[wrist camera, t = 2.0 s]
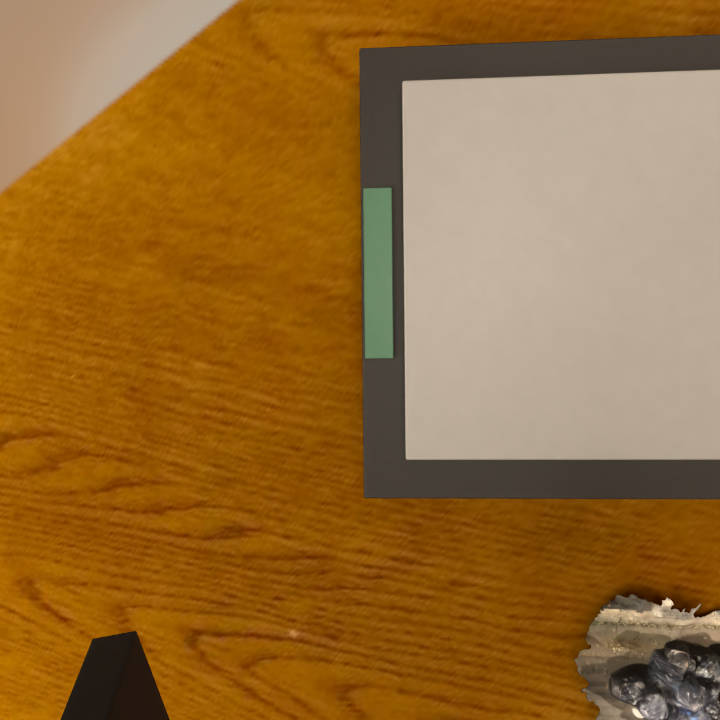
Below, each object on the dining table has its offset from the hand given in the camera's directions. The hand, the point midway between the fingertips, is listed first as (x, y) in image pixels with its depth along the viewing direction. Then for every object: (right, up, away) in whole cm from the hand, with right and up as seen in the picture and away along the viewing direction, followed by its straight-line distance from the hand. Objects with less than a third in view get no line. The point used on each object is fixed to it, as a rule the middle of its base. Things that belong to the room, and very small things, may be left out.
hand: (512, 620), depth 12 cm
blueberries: (+10, -7, +14) cm, 19 cm away
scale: (+6, +8, +14) cm, 17 cm away
